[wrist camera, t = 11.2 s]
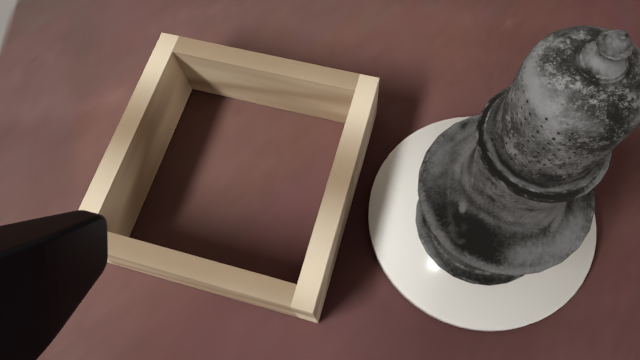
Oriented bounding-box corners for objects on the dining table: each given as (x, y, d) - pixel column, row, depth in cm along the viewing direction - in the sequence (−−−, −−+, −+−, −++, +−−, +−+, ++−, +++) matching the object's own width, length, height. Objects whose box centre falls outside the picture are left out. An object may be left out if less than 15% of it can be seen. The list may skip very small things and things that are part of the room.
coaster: (577, 360, 19) (584, 360, 19) (344, 295, 21) (343, 293, 20) (599, 148, 22) (606, 142, 22) (395, 104, 24) (395, 97, 23)
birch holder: (318, 323, 20) (312, 313, 18) (100, 260, 22) (63, 242, 19) (376, 114, 24) (379, 78, 21) (182, 71, 25) (161, 32, 22)
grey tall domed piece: (544, 151, 22) (741, -91, 11) (568, 293, 20) (846, 172, 9) (403, 154, 22) (453, -77, 11) (412, 294, 20) (484, 179, 9)
